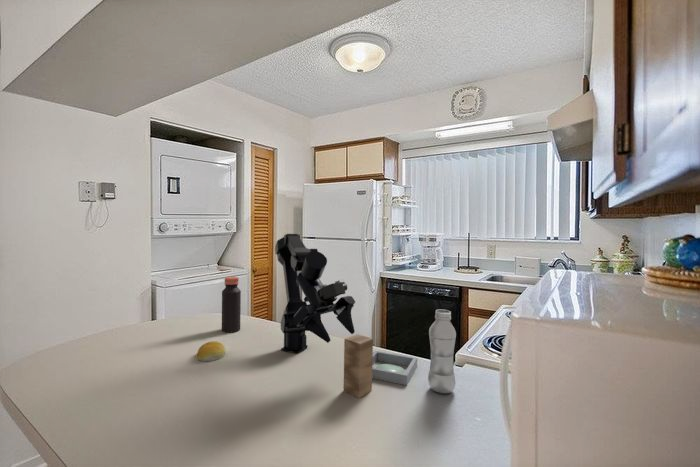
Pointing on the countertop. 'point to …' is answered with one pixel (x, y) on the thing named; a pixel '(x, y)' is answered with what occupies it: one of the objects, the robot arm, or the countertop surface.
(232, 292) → the vinegar
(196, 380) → the countertop surface
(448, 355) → the plastic bottle
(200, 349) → the bread roll
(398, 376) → the walled pen
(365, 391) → the walnut block
